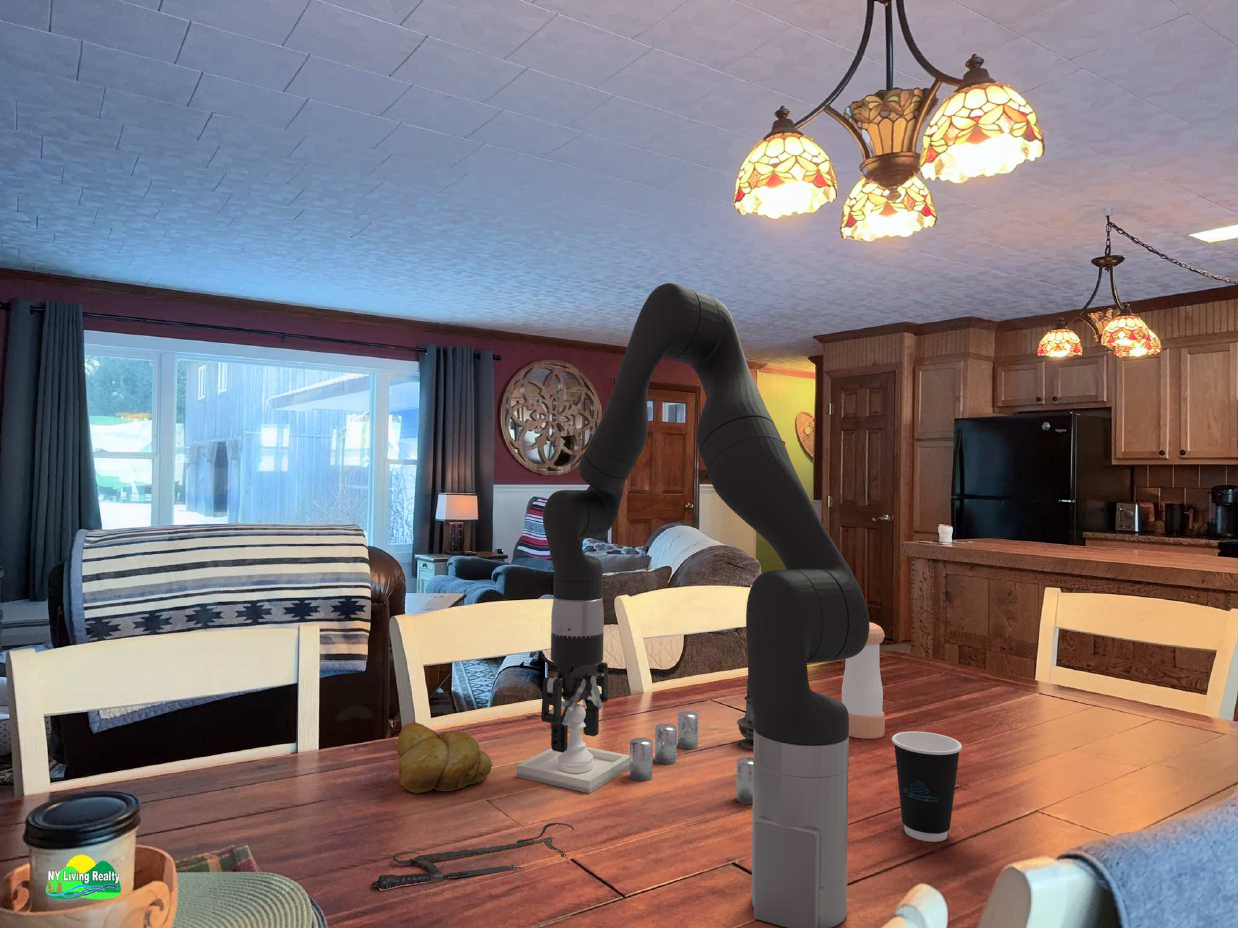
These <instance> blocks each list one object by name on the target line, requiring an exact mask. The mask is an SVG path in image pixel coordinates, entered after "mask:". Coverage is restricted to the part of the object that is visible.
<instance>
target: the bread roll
mask: <svg viewBox="0 0 1238 928" xmlns="http://www.w3.org/2000/svg"><path fill="white" fill-rule="evenodd" d="M396 741H397V742H396V743H397V746H396V748H397V749H396V751H397V753H398V756H400V758H399V760H398V777H399V780H400V782H399V783H400V785H401V786H403V787H404V788H405V789H406V790H407V791H408V792H411V793H415V794H421V793H426V792H430V791H431V790H433V789H435V790H436V791H438V792H439V791H440V792H449V791H451V792H452V791H456V790H459V789H462V788H465V787H466V786H469V785H475V784H477V783H480V782H481V781H483V780H485V779H486V778H487V777H488V775H490V773H491V771H492V767H493V761H492V760H491V758H490V756H489V755H488V754H487V753H486V752H485V751H483V750H480V745H479V743H478V741H477V740H476V739H475V738H474V736H471V735H470V734H468V733H466V732H464V731H460V730H459V731H458V730H449V731H446V732H445V731H444V732H442V733H440V734H438V733H437V732H436V731H435V730H433V729H431V728H429V727H427V726H425V725H424V724H422V723H419V722H415V721H413V722H408V723H407V724H405V725H404V726H403V727H402V728H401V730H400V732H399V736H398V738H397V740H396Z"/></svg>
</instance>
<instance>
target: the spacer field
mask: <svg viewBox="0 0 1238 928" xmlns="http://www.w3.org/2000/svg"><path fill="white" fill-rule="evenodd" d="M654 731H655V732H654V733H655V734H654V736H655V737H654V741H653V739H651V738H647V737H634V738H631V739H630V740H629V755H630V768H629V779H631V780H632V781H636V782H645V781H650V780H652V779H653V750H654V761H655V763H657V764H660V765H673V764H675V763H677V747H678V748H679V749H683V750H695V749H698V747H699V713H697V711H696V712H695V711H689V710H688V711H687V710H684V711H679V712H678V713H677V725H675V724H671V723H659V724H656V725H655V727H654ZM653 744H654V745H653ZM653 747H654V749H653ZM736 801H738V802H739V803H741V804H745V805H753V757H752V756H749V757H747V756H744V757H739V758H738V759H736Z"/></svg>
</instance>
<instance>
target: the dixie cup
mask: <svg viewBox="0 0 1238 928" xmlns="http://www.w3.org/2000/svg"><path fill="white" fill-rule="evenodd" d="M891 742H892V743H893V744H894V753H895V764H896V773H897V774H896V775H897V782H898V785H897V786H898V792H899V794H898V795H899V803H900V804H899V805H900V812H901V822H902V825H903V827H904V833H905V834H906V835H908V836H909V837H911V838H913V839H914V840H915V839H916V840H919V841H923V842H931V843H932V842H942V841H945V840H947V838H948V832H949V830H950V829H951V821H952V815H953V807H954V806H953V805H954V800H955V799H954V798H955V790H956V789H955V788H956V783H957V781H956V780H957V774H958V767H959V765H958V764H959V758H960V757H959V756H960V751H961V750H962V749H963V746H962V744H961V742H959V740H957V739H955V738H952V737H950V736H947V735H944V734H939V733H935V732H928V731H902V732H898V733H896V734H894V735H893V736H892V737H891Z"/></svg>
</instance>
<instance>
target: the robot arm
mask: <svg viewBox="0 0 1238 928" xmlns="http://www.w3.org/2000/svg"><path fill="white" fill-rule="evenodd" d="M663 358H666V359H667V360H672V361H675V362H678V363H682V364H685V365H688V366H690V367H691V368H692V369H693V370H694V372H695V374H696V375H697V377H698V379H699V381H700V383H701V386H702V388H703V391H704V395H705V403H704V405H703V408H702V411H701V414H700V417H699V420H698V423H697V428H696V429H697V430H696V445H697V449H698V452H699V455H700V458H701V461H702V462H703V465H704V468H705V471H706V473H707V476H708V478H709V481H710V483H711V485H712V488H713V489H714V491H715V492H716V494H717V495H718V496H719V498H720V499H721V501H723V503H725V504H726V506H728V507H729V509H730V510H732V511H733V513H734V514H736V515H737V516H738V517H739V518H740V519H742V520H743V521H744V522H745V523H746V524H747V525H748V526H750V527H751V528H752V529H753V530H754V531H755V532H757V533H758V534H759V535H760V536H761V537H762V538H763V539H764V540H765V541H766V542H767V543H768V544H769V545H770V547H771V548H773V550H774V551H775V553H776V554H777V556H778V557H779V559H780V560H781V562H782V563H783V566H784V567H785V569H774V570H767V571H765V572H763V573H761V574H758V576H757V577H756V578H755V579H754V580H753V582H752V584H751V587H750V589H749V592H748V595H747V599H746V600H747V601H746V611H745V613H746V614H745V631H746V632H745V634H746V653H747V655H746V656H747V657H746V658H747V679H748V688H749V696H750V701H751V705H752V709H753V715H754V750H752V751H753V757H752V758H753V804H752V823H751V824H752V825H751V826H752V828H751V834H752V835H751V838H752V839H751V846H752V847H751V904H752V907H753V919H756V920H760V921H762V922H767V923H770V924H774V925H777V926H781V927H784V928H833V927H836V926H838V925H840V924H841V923H842V922H844V921H845V919H846V917H847V916H848V915H847V914H848V849H849V848H848V845H849V844H848V843H849V842H848V839H849V838H848V837H849V830H848V829H849V823H848V822H849V762H850V760H849V757H850V756H849V754H850V753H849V752H850V748H849V747H850V745H849V744H850V736H849V714H848V710H847V708H846V707H845V705H844V704H843V703H842V701H840V700H839V699H836V698H833V697H831V696H829V695H826V694H823V693H819V692H816V691H813V690H812V688H811V687H810V682H809V681H810V680H809V674H808V673H809V672H808V671H809V670H808V664H813V663H824V662H825V663H826V662H835V661H840V660H846V659H847V658H851V657H854V656H856V655H857V654H859V653H860V652H861V651H862V650H863V648H864V647H865V645H866V643H867V640H868V636H869V630H870V626H869V622H870V614H869V610H868V605H867V602H866V599H865V597H864V594H863V591H862V588H861V586H860V584H859V582H858V581H857V579H856V577H855V575H854V573H853V571H852V570H851V568H850V566H849V565H848V563H847V562H846V559H845V558H844V557H843V556H844V555H842V553H841V552H840V550H839V549H838V547H837V545H836V543H835V542H834V540H833V539H832V537H831V536H830V534H829V532H828V531H827V528H825V527H826V526H824V524H823V522H822V521H821V518H820V517H819V515H818V513H817V511H816V510H815V509H816V508H815V507H814V506H813V504H812V501H811V499H810V497H809V496H808V494H807V491H806V489H805V488H804V486H803V484H802V481H801V479H800V477H799V476H798V473H797V472H796V469H795V467H794V465H793V463H792V460H791V458H790V456H789V455H790V454H789V452H788V451H787V448H786V446H785V445H786V444H784V441H783V439H782V437H781V435H780V433H779V430H778V428H777V427H776V424H775V422H774V420H773V419H772V417H771V414H770V413H769V411H768V409H767V407H766V404H765V402H764V400H763V398H762V395H761V393H760V389H759V388H758V386H757V383H756V382H755V380H754V377H753V375H752V372H751V369H750V368H749V365H748V361H747V359H746V356H745V353H744V350H743V347H742V343H741V340H740V336H739V334H738V331H737V327H736V324H735V322H734V318H733V316H732V314H731V313H730V310H729V309H728V307H727V305H725V303H724V302H722V301H721V300H719V299H718V298H716V297H713V296H711V295H709V294H708V295H707V294H706V293H703V292H701V291H697V290H695V289H691V288H689V287H687V286H683V285H680V284H677V283H673V282H667V283H662V284H660V285H659V286H657V287H655V289H654V290H652V291H651V293H650V294H649V295H648V297H647V299H646V300H645V302H644V304H643V306H642V307H641V309H640V312H639V313H638V316H637V319H636V321H635V324H634V327H633V330H632V332H631V335H630V338H629V342H628V344H627V347H626V349H625V353H624V356H623V359H622V362H621V365H620V368H619V370H618V374H617V378H616V381H615V384H614V386H613V389H612V392H611V395H610V398H609V401H608V403H607V406H606V409H605V410H604V412H603V414H602V415H603V416H602V418H601V419H600V422H599V423H598V426H597V428H596V429H595V431H594V433H593V436H592V437H591V439H590V441H589V442H588V444H587V446H586V449H585V450H584V452H583V454H582V456H581V458H580V460H579V464H578V472H579V476H580V477H581V479H582V480H583V481H584V482H585V483H586V484H587V485H589V486H588V487H587V489H560V490H557V491H555V492H553V493H551V495H550V496H549V497H548V499H547V500H546V502H545V504H544V507H543V512H542V526H543V529H544V534H545V538H546V542H547V545H548V551H549V555H550V560H551V562H552V567H553V599H552V606H551V607H552V608H551V621H550V625H551V627H550V630H551V631H550V633H551V634H550V660H551V662H552V663H553V664H554V665H556V667H557V673H556V676H555V677H548V676H547V677H546V676H545V677H544V678H543V681H542V693H541V694H542V695H541V712H540V714H541V715H540V720H541V722H544V723H549V724H550V726H551V727H550V728H551V729H550V730H551V731H550V732H551V733H550V736H551V738H550V739H551V740H550V746H551V748H552V750H553V751H557V752H565V751H566V750H567V745H568V741H569V737H568V736H569V734H568V733H569V732H568V731H569V730H568V729H569V728H568V725H567V723H568V722H569V721H568V720H569V717H570V714H571V712H572V711H574V710H575V709H576V706H577V704H580V702H582V704H583V707H584V709H585V712H586V716H585V718H584V720H583V722H584V723H585V725H586V726H585V727H584V728H582V730H583V734H584V735H586V736H588V737H592V738H593V737H597V736H598V735H599V730H600V723H599V722H600V711H601V709H602V707H603V704H604V703H608V701H609V675H608V674H609V672H608V667H609V666H608V663H607V662H603V661H604V638H605V637H604V634H605V633H604V632H605V631H604V629H605V627H604V625H605V624H604V623H605V621H604V619H605V618H604V617H605V615H604V613H605V612H604V611H605V610H604V603H603V578H604V577H603V576H604V575H603V574H604V573H603V571H604V570H603V564H602V561H601V560H600V559H599V558H598V557H596V556H592V555H588V554H585V552H584V549H583V546H582V542H581V540H583V539H596V538H600V537H602V536H604V535H605V534H607V533H608V532H609V530H611V529H612V527H614V524H615V523H616V520H617V518H618V515H619V510H620V507H621V506H620V505H621V502H622V498H623V496H624V495H623V494H624V489H625V484H626V482H627V479H629V476H630V474H632V471H633V469H634V467H635V465H636V463H637V462H638V460H639V458H640V457H641V455H642V453H643V450H644V448H645V446H646V443H647V440H648V432H649V412H648V395H649V394H648V393H649V392H648V391H649V387H650V386H649V385H650V381H651V378H652V377H653V374H654V371H655V370H656V369H657V367H658V366H659V364H660V362H661V361H662V359H663ZM599 687H600V689H599ZM550 706H552V708H551V711H550ZM562 710H563V712H562Z"/></svg>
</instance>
